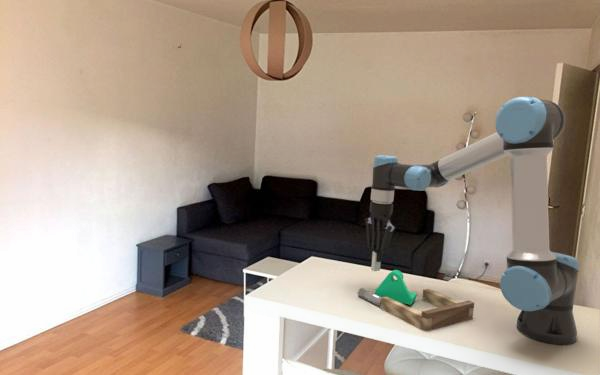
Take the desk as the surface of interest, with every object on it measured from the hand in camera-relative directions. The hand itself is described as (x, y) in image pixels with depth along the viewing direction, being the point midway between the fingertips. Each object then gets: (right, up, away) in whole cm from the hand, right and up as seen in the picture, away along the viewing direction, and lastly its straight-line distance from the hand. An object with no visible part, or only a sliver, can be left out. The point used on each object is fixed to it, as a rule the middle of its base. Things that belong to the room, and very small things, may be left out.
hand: (375, 270), depth 163 cm
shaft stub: (-4, -6, -12) cm, 14 cm away
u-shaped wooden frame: (+12, -10, -18) cm, 24 cm away
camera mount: (+5, -9, -8) cm, 13 cm away
